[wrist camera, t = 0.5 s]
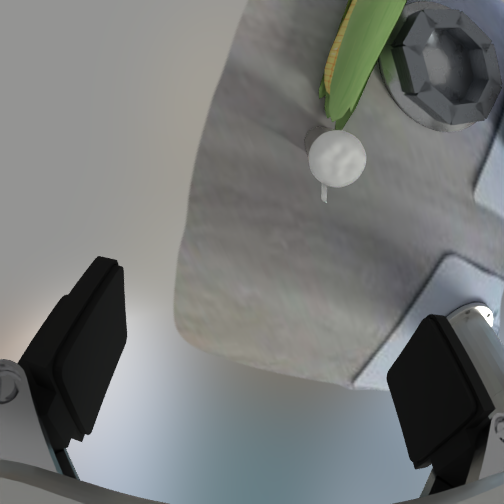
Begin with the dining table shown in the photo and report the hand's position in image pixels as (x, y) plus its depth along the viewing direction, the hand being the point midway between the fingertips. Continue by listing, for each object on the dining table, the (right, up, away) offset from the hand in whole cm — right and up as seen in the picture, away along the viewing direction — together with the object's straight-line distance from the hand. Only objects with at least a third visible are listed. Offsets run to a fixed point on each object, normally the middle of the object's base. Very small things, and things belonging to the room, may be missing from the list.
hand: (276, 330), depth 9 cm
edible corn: (+9, +23, +16) cm, 29 cm away
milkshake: (+6, +13, +21) cm, 26 cm away
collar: (+19, +22, +15) cm, 33 cm away
